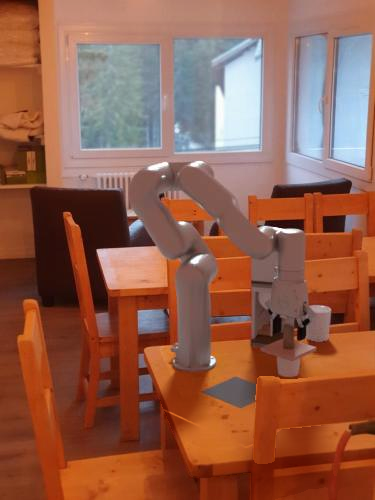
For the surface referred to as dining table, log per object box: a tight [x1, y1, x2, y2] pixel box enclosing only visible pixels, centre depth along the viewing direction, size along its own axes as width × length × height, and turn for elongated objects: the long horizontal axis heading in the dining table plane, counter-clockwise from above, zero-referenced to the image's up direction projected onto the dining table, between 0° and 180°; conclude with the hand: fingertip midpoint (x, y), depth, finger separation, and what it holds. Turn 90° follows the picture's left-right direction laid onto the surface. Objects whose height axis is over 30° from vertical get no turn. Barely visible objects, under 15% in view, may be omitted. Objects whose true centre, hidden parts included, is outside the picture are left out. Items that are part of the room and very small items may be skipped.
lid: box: [259, 323, 318, 361], centre depth 195 cm, size 11×11×8 cm
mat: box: [200, 376, 257, 409], centre depth 186 cm, size 14×14×1 cm
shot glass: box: [276, 356, 301, 378], centre depth 196 cm, size 7×7×7 cm
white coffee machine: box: [250, 252, 295, 348], centre depth 218 cm, size 11×11×35 cm
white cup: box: [305, 304, 332, 343], centre depth 224 cm, size 8×8×10 cm
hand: (289, 335), depth 195 cm, fingers open, 7 cm apart
